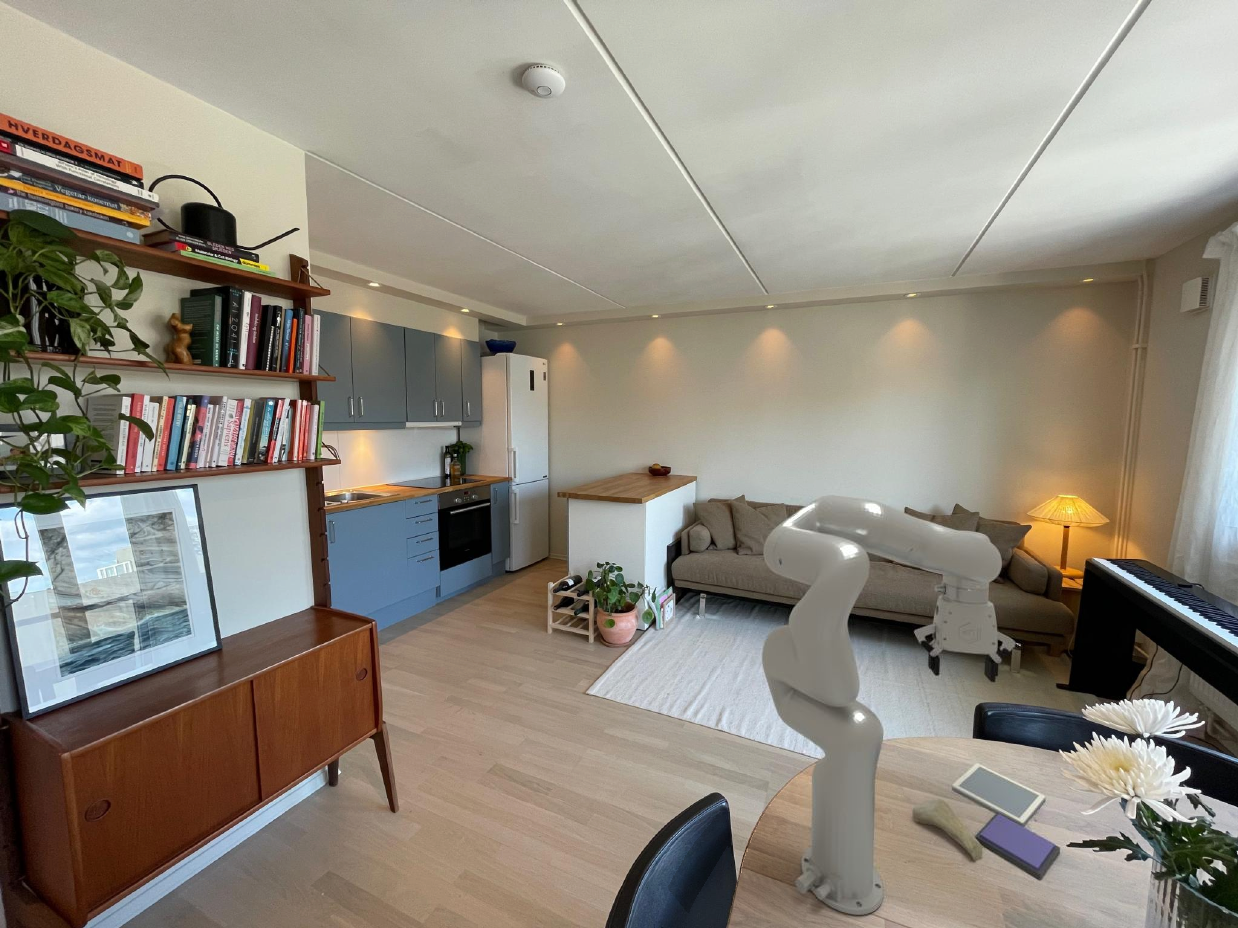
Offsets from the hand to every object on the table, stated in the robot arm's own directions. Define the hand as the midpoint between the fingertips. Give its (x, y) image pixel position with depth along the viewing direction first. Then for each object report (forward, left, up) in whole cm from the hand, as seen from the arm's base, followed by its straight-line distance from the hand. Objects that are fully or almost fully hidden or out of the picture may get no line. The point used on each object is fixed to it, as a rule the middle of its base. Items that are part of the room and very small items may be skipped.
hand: (961, 675), depth 99 cm
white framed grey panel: (+7, -5, -26) cm, 27 cm away
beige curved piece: (-13, -4, -26) cm, 29 cm away
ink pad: (-5, -12, -26) cm, 29 cm away
